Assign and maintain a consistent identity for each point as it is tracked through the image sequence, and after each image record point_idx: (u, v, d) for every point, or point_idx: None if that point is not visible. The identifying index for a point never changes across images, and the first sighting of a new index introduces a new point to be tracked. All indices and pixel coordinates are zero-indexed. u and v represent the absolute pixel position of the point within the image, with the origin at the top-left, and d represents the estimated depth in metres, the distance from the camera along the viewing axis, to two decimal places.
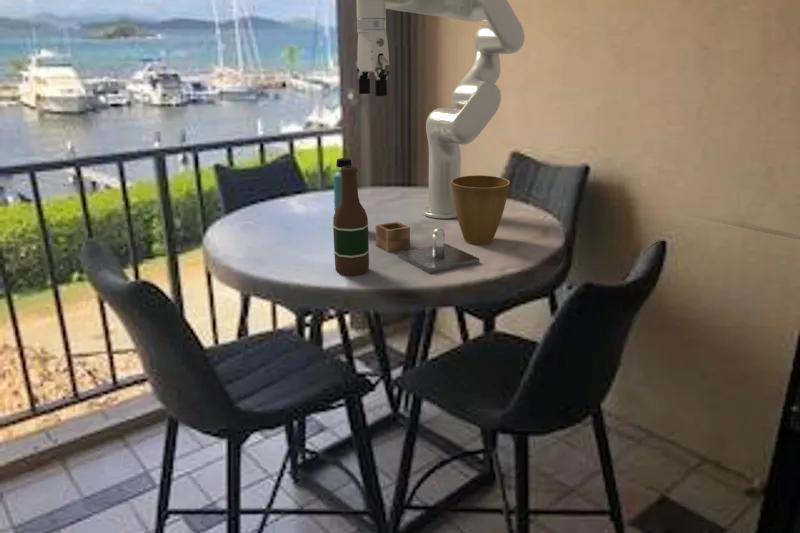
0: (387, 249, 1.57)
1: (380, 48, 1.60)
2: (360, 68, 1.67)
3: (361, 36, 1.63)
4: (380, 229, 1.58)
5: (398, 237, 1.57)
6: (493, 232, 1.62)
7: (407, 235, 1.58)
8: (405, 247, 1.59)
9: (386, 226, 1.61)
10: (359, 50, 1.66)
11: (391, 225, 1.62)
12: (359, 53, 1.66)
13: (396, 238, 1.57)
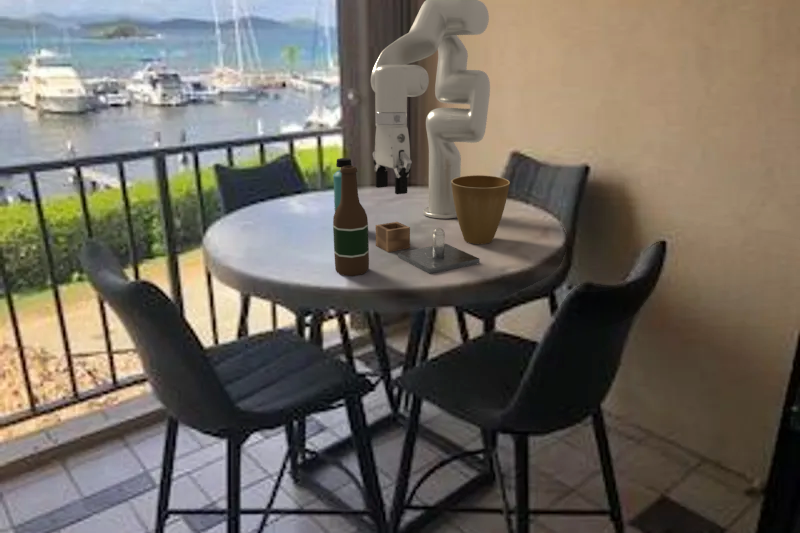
0: (387, 249, 1.57)
1: (401, 144, 1.48)
2: (378, 162, 1.55)
3: (380, 130, 1.50)
4: (380, 229, 1.58)
5: (398, 237, 1.57)
6: (493, 232, 1.62)
7: (407, 235, 1.58)
8: (405, 247, 1.59)
9: (386, 226, 1.61)
10: (377, 143, 1.53)
11: (391, 225, 1.62)
12: (377, 146, 1.53)
13: (396, 238, 1.57)
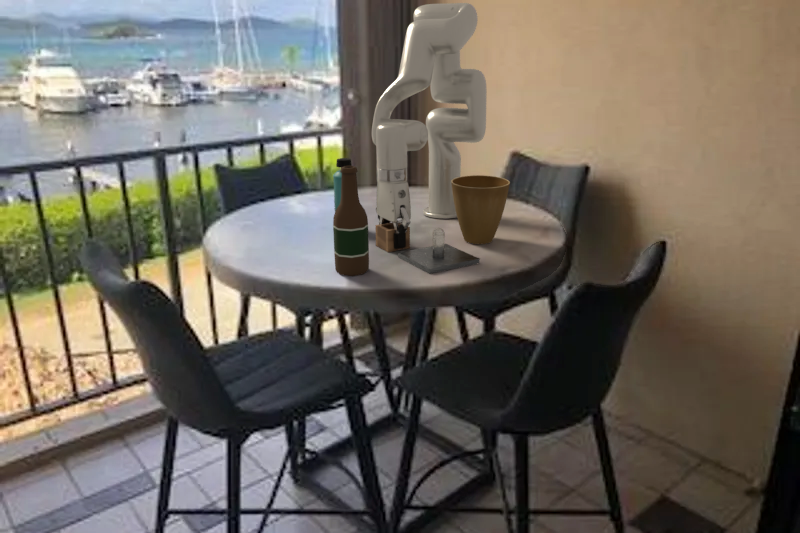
0: (387, 249, 1.57)
1: (402, 200, 1.53)
2: (379, 214, 1.60)
3: (381, 185, 1.55)
4: (380, 229, 1.58)
5: None
6: (493, 232, 1.62)
7: (407, 235, 1.58)
8: (405, 247, 1.59)
9: (386, 226, 1.61)
10: (379, 197, 1.58)
11: (391, 225, 1.62)
12: (379, 200, 1.58)
13: None
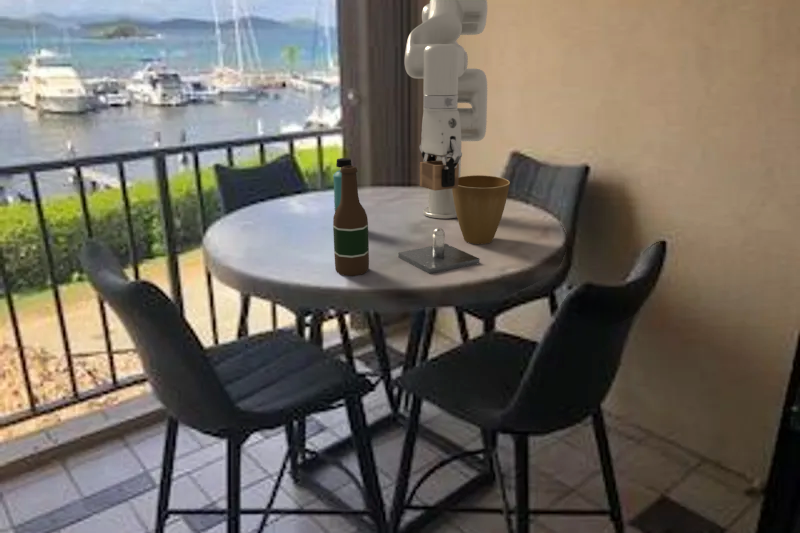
0: (434, 187, 1.40)
1: (452, 130, 1.36)
2: (425, 150, 1.43)
3: (428, 115, 1.39)
4: (425, 166, 1.42)
5: None
6: (493, 232, 1.62)
7: (456, 172, 1.42)
8: (453, 186, 1.42)
9: (431, 164, 1.44)
10: (424, 130, 1.41)
11: (437, 163, 1.45)
12: (424, 133, 1.42)
13: None
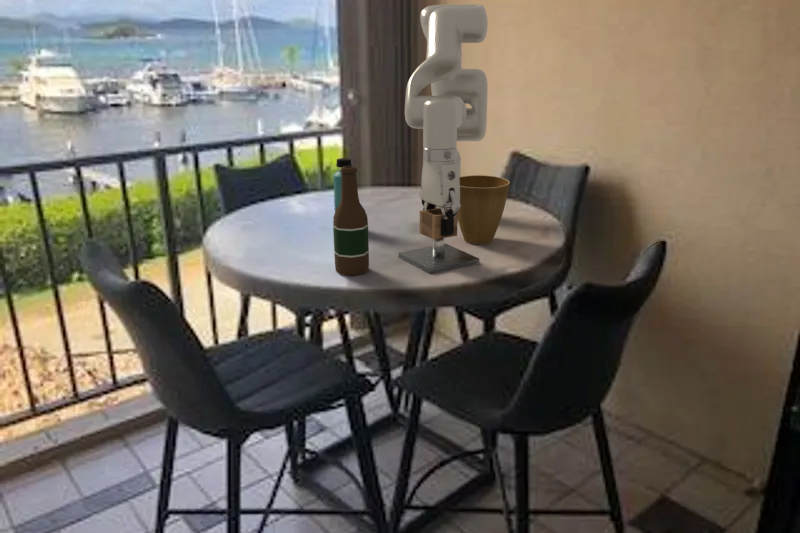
0: (434, 236, 1.44)
1: (451, 182, 1.40)
2: (425, 199, 1.47)
3: (428, 167, 1.43)
4: (425, 215, 1.46)
5: None
6: (493, 232, 1.62)
7: (454, 221, 1.46)
8: None
9: (431, 212, 1.48)
10: (424, 180, 1.45)
11: (436, 211, 1.49)
12: (424, 183, 1.46)
13: None
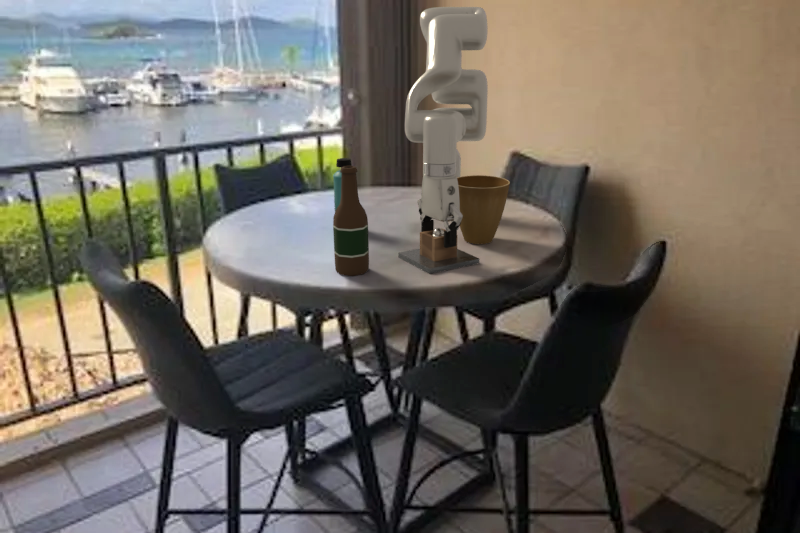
0: (434, 258, 1.46)
1: (451, 197, 1.41)
2: (425, 212, 1.48)
3: (428, 181, 1.44)
4: (425, 237, 1.48)
5: None
6: (493, 232, 1.62)
7: None
8: (452, 256, 1.48)
9: (431, 233, 1.50)
10: (424, 194, 1.46)
11: None
12: (424, 197, 1.47)
13: (443, 246, 1.46)
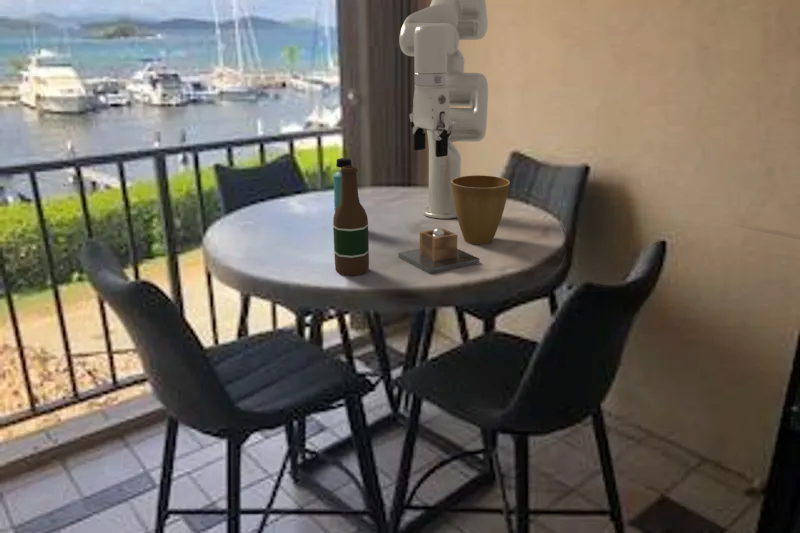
0: (434, 258, 1.46)
1: (442, 106, 1.46)
2: (416, 124, 1.53)
3: (419, 92, 1.48)
4: (425, 237, 1.48)
5: (445, 245, 1.46)
6: (493, 232, 1.62)
7: (454, 243, 1.48)
8: (452, 256, 1.48)
9: (431, 233, 1.50)
10: (416, 105, 1.51)
11: None
12: (416, 108, 1.51)
13: (443, 246, 1.46)
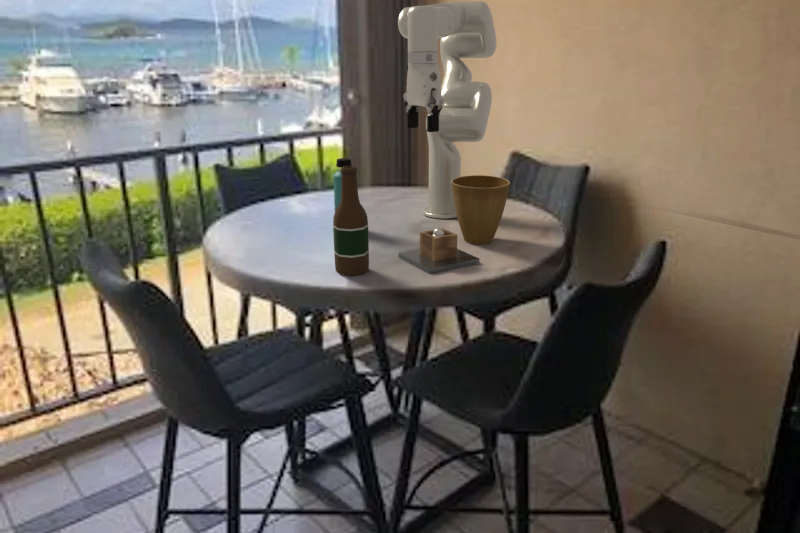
0: (434, 258, 1.46)
1: (433, 83, 1.53)
2: (410, 102, 1.61)
3: (412, 70, 1.56)
4: (425, 237, 1.48)
5: (445, 245, 1.46)
6: (493, 232, 1.62)
7: (454, 243, 1.48)
8: (452, 256, 1.48)
9: (431, 233, 1.50)
10: (409, 84, 1.59)
11: None
12: (409, 87, 1.59)
13: (443, 246, 1.46)
